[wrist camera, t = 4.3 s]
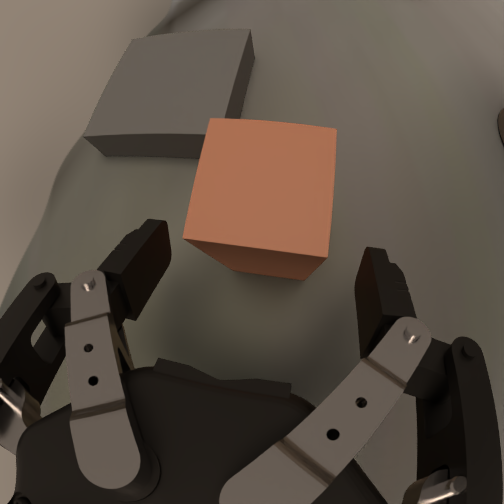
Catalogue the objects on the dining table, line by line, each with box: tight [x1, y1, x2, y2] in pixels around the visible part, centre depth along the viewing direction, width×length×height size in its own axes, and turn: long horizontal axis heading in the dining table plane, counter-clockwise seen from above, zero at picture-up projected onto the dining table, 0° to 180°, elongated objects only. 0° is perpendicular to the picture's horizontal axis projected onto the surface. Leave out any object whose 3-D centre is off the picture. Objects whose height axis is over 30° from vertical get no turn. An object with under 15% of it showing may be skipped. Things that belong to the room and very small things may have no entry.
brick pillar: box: [183, 118, 337, 280], centre depth 14 cm, size 5×5×10 cm
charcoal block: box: [83, 29, 255, 159], centre depth 20 cm, size 11×11×4 cm
